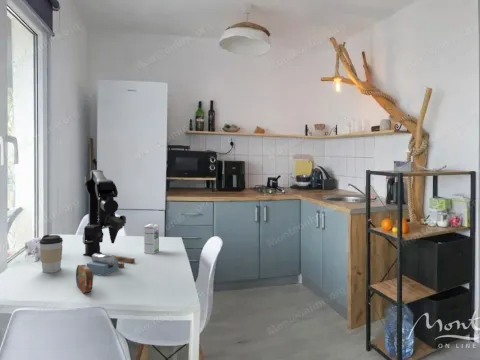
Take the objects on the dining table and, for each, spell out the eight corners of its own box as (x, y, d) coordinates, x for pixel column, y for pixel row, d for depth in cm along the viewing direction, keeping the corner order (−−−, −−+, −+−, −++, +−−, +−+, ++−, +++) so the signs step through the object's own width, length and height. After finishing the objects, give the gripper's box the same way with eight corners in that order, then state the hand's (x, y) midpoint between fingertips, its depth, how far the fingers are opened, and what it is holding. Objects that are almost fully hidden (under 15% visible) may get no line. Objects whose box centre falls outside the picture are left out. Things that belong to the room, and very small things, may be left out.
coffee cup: (68, 268, 152) (67, 234, 151) (50, 274, 143) (50, 239, 142) (52, 265, 155) (52, 232, 154) (34, 271, 146) (33, 237, 145)
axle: (91, 263, 149) (91, 254, 148) (98, 260, 153) (98, 251, 152) (110, 266, 146) (110, 257, 145) (116, 263, 149) (116, 254, 149)
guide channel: (98, 264, 158) (98, 260, 157) (112, 259, 166) (112, 255, 166) (122, 268, 153) (122, 263, 153) (134, 262, 162) (134, 258, 162)
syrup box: (154, 254, 176) (154, 226, 175) (143, 253, 177) (143, 225, 176) (159, 251, 182) (159, 224, 181) (148, 250, 183) (148, 223, 182)
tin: (75, 283, 134) (75, 262, 134) (83, 281, 136) (83, 261, 136) (85, 296, 123) (85, 273, 122) (94, 294, 124) (94, 271, 124)
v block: (86, 272, 147) (86, 263, 146) (101, 266, 155) (101, 257, 155) (103, 275, 144) (103, 266, 143) (118, 269, 152) (118, 260, 152)
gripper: (105, 214, 136) (105, 253, 137) (134, 208, 153) (134, 242, 154) (83, 212, 139) (83, 250, 140) (114, 206, 157) (114, 240, 158)
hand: (105, 245), depth 148 cm, fingers open, 9 cm apart
